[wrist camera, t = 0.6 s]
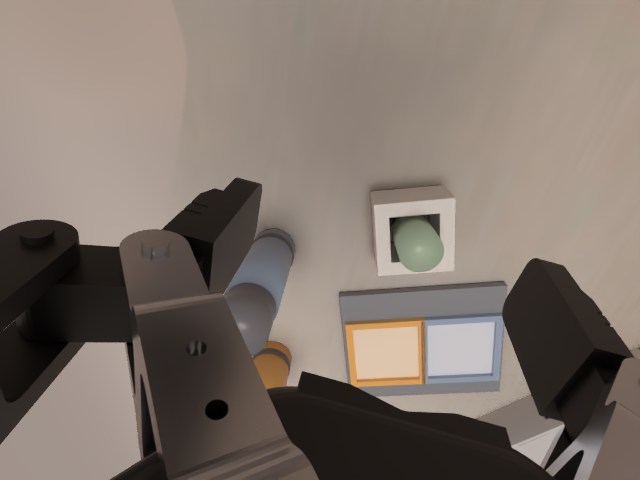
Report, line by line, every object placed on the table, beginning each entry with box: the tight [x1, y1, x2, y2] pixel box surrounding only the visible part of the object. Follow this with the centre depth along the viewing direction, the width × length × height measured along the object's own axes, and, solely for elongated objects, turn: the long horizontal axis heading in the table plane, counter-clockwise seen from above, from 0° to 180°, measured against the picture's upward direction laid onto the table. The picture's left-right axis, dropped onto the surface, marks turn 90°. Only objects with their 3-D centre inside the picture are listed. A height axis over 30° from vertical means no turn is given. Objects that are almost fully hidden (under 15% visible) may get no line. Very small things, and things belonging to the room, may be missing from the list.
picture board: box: [339, 281, 507, 397], centre depth 38 cm, size 12×15×1 cm
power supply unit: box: [477, 348, 640, 466], centre depth 42 cm, size 19×33×5 cm, turn 126°
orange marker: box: [252, 342, 291, 389], centre depth 34 cm, size 4×4×13 cm
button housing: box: [370, 185, 455, 276], centre depth 32 cm, size 6×6×4 cm
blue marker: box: [223, 229, 295, 356], centre depth 29 cm, size 4×4×13 cm
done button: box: [392, 215, 444, 272], centre depth 30 cm, size 3×3×4 cm
